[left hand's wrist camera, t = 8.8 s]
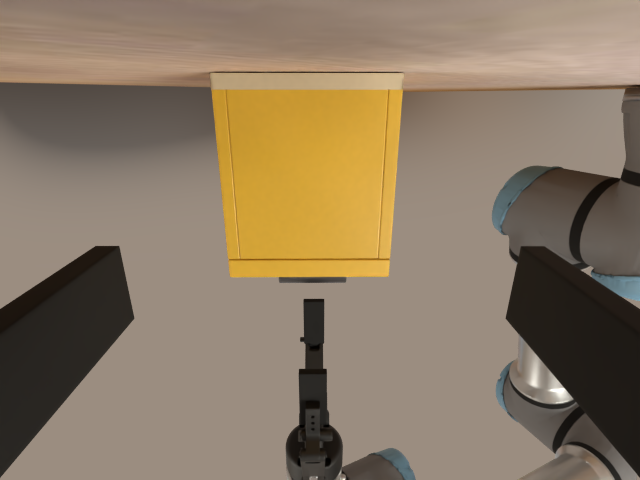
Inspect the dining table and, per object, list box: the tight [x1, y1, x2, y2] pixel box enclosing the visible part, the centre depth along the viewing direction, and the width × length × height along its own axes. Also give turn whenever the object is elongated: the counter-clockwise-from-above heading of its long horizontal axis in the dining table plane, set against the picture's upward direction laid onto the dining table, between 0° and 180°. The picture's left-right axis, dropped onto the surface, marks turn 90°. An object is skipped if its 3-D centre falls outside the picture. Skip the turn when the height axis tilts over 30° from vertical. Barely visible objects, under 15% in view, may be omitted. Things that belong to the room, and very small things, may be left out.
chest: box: [210, 73, 404, 259], centre depth 29 cm, size 17×10×10 cm, turn 0°
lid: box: [228, 258, 390, 283], centre depth 33 cm, size 18×10×9 cm, turn 0°
